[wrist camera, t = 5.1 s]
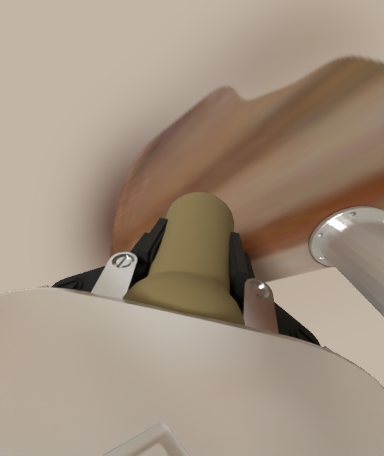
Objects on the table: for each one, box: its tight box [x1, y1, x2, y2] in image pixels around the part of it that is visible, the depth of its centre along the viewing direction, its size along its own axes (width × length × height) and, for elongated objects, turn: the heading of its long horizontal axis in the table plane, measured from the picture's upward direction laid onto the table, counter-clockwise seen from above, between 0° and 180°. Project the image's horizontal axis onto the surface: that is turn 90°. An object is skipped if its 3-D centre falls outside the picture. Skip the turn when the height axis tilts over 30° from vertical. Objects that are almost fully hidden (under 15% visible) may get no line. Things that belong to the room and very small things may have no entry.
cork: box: [122, 192, 245, 326], centre depth 9 cm, size 6×6×11 cm
